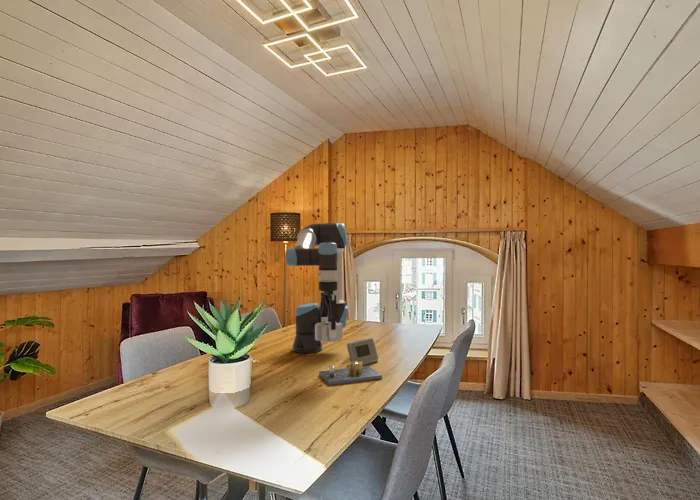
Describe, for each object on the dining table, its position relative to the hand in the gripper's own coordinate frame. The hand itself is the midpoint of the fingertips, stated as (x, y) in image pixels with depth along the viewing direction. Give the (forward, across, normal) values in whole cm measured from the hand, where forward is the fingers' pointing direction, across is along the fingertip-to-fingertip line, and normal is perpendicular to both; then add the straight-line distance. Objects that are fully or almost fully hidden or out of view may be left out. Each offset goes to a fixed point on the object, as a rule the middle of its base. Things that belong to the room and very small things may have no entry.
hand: (328, 335), depth 172 cm
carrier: (+17, +2, +8) cm, 19 cm away
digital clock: (+17, -14, +20) cm, 29 cm away
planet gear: (+2, 0, 0) cm, 2 cm away
